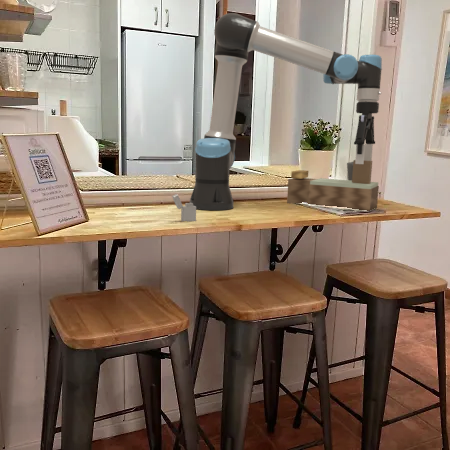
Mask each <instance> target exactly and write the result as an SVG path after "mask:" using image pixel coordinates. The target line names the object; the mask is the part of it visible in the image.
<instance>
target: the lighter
mask: <svg viewBox="0 0 450 450" xmlns="http://www.w3.org/2000/svg"><path fill="white" fill-rule="evenodd" d="M171 197H172V200H173V202H174V205H175V206H176V208H177V209H178V210H180V211H181V212H180V222H183V221H187V222H197V209H196V206H193V203H190V202H185V205H183V204H182V201H181V199H180V196H179V194H177V193H175V194H172V195H171Z"/></svg>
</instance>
